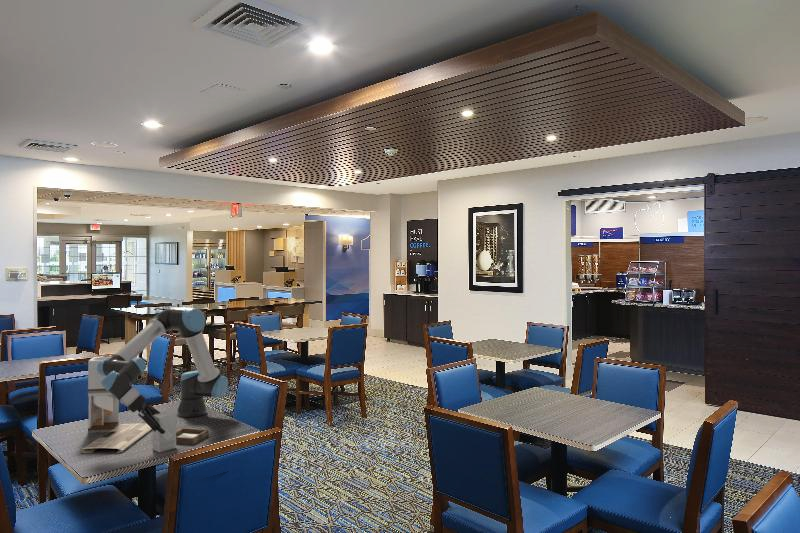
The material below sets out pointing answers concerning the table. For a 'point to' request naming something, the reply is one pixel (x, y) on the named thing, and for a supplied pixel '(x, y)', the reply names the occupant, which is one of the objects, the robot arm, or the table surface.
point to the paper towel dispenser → (100, 401)
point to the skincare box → (170, 425)
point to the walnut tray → (190, 435)
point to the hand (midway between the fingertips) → (171, 434)
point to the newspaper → (119, 437)
